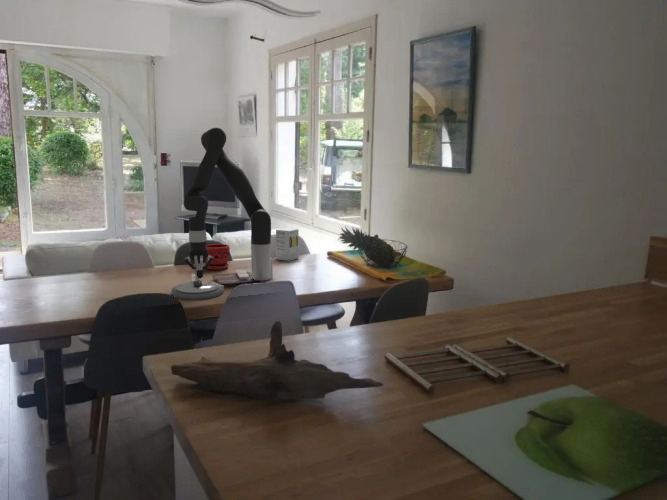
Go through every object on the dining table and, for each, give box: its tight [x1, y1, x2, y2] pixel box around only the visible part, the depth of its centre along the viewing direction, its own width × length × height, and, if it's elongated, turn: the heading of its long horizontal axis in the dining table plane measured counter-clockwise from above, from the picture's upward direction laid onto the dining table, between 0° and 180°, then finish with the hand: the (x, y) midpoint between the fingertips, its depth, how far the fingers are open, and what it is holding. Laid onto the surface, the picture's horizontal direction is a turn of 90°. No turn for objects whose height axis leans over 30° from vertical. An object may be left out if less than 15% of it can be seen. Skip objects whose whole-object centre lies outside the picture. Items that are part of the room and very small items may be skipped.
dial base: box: [171, 283, 225, 301], centre depth 248 cm, size 22×22×2 cm
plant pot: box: [205, 243, 231, 271], centre depth 295 cm, size 13×13×12 cm
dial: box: [175, 273, 220, 294], centre depth 248 cm, size 20×18×4 cm
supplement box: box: [275, 227, 299, 262], centre depth 318 cm, size 10×9×17 cm
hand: (200, 278), depth 256 cm, fingers closed
